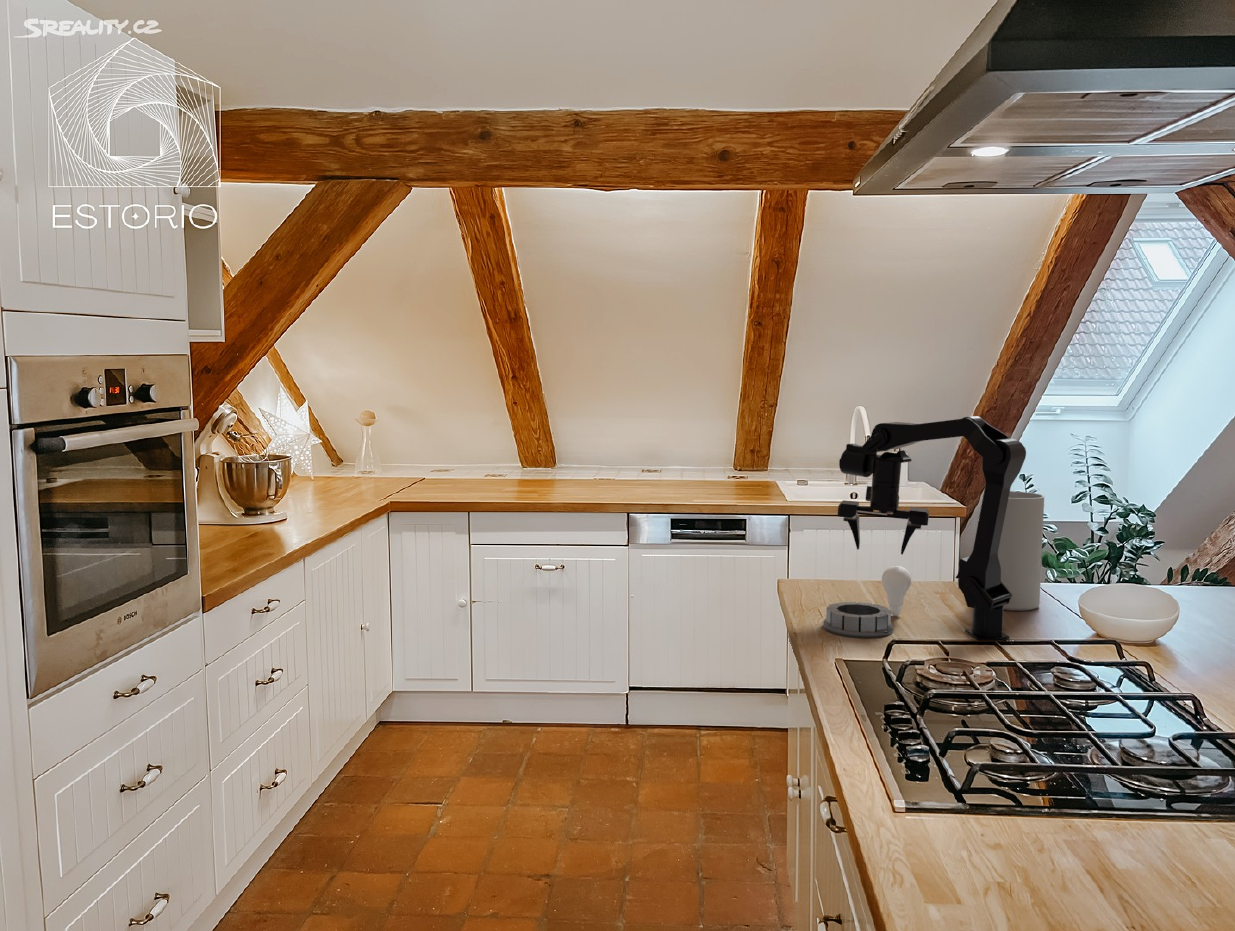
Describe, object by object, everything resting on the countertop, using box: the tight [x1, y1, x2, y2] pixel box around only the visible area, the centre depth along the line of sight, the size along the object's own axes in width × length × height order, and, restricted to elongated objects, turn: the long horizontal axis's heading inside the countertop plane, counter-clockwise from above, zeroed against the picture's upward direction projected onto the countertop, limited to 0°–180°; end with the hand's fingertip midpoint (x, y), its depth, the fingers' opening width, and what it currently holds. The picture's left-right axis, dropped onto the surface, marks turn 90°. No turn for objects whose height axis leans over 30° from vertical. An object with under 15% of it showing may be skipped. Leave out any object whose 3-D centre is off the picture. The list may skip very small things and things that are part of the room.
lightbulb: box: [881, 565, 912, 617], centre depth 208 cm, size 6×6×11 cm
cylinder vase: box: [998, 490, 1045, 612], centre depth 217 cm, size 12×12×25 cm
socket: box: [822, 601, 895, 639], centre depth 199 cm, size 14×14×4 cm
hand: (879, 551), depth 210 cm, fingers open, 9 cm apart
